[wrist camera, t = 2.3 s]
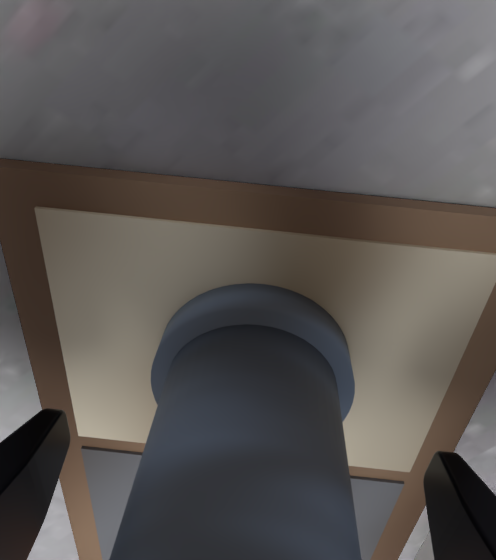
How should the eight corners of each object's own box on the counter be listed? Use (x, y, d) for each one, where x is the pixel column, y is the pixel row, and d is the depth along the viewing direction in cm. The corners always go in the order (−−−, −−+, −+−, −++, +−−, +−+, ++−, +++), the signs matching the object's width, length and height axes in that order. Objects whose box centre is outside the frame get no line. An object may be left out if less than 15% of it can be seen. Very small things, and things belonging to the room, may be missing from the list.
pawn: (368, 294, 10) (649, 1256, 2) (330, 434, 12) (404, 1107, 5) (157, 272, 10) (-246, 1130, 2) (162, 416, 13) (-24, 1050, 5)
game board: (558, 214, 9) (573, 226, 9) (336, 663, 23) (337, 678, 22) (-6, 158, 9) (-22, 166, 9) (104, 636, 23) (100, 650, 22)
